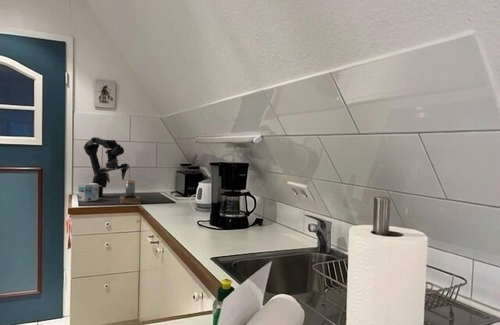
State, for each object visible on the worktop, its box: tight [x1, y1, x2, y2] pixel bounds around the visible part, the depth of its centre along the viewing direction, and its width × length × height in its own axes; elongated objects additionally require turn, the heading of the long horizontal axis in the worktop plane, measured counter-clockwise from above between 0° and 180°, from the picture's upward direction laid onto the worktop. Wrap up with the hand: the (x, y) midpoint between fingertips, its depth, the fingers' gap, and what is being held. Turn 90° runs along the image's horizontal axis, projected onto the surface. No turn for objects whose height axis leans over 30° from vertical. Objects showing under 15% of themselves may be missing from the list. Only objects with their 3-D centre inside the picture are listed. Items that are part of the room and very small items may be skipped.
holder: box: [119, 195, 142, 205], centre depth 247 cm, size 12×12×3 cm
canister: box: [125, 180, 136, 199], centre depth 246 cm, size 6×6×13 cm
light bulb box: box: [78, 182, 99, 202], centre depth 248 cm, size 11×7×11 cm, turn 148°
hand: (116, 181), depth 250 cm, fingers open, 9 cm apart
